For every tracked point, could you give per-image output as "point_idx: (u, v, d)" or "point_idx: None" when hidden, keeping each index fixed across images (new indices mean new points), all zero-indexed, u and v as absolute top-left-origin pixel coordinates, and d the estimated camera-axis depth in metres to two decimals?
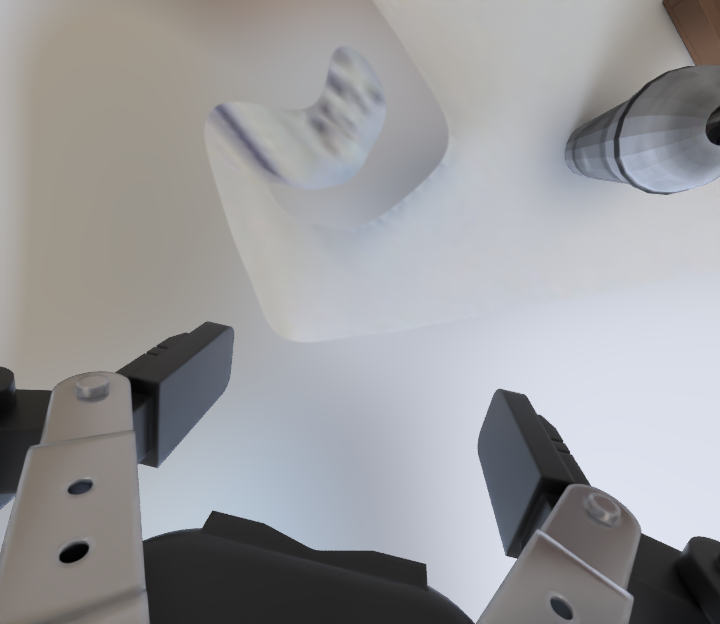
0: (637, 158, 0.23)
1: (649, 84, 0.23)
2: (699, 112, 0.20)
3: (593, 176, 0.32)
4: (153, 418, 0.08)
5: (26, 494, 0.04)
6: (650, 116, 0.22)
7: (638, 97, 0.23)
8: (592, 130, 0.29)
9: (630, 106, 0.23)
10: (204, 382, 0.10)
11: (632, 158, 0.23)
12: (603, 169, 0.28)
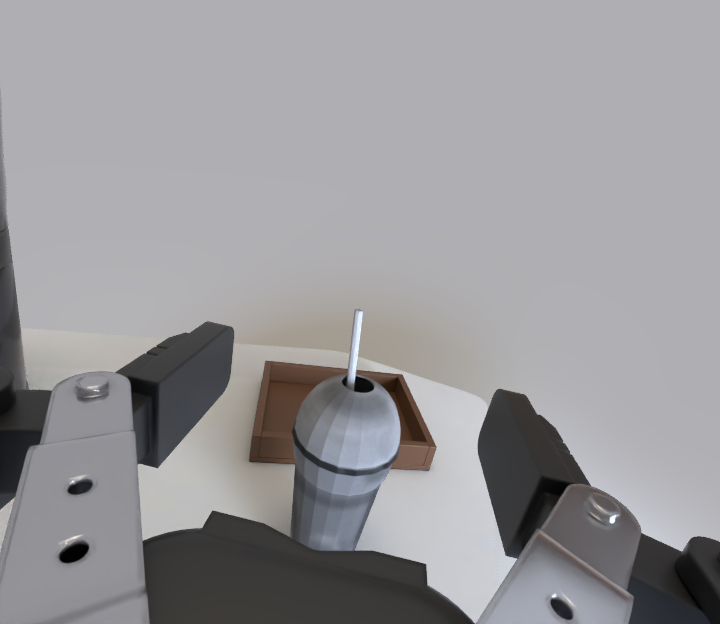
0: (348, 447, 0.22)
1: (293, 428, 0.24)
2: (338, 390, 0.23)
3: (346, 547, 0.26)
4: (153, 418, 0.08)
5: (26, 494, 0.04)
6: (318, 422, 0.23)
7: (297, 436, 0.24)
8: (299, 515, 0.25)
9: (299, 443, 0.23)
10: (204, 382, 0.10)
11: (345, 452, 0.22)
12: (343, 512, 0.24)
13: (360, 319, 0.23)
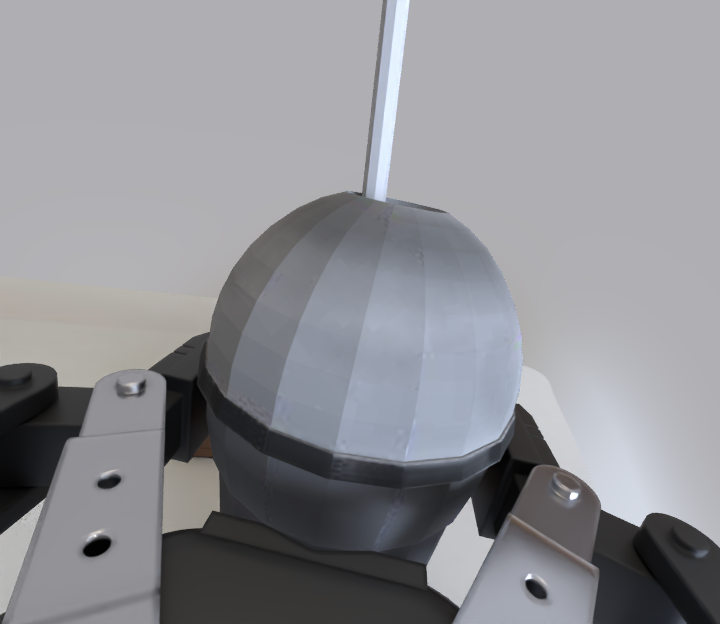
0: (375, 375, 0.06)
1: (204, 345, 0.08)
2: (335, 203, 0.07)
3: None
4: (185, 414, 0.08)
5: (60, 485, 0.05)
6: (265, 297, 0.06)
7: (206, 359, 0.07)
8: None
9: (209, 379, 0.07)
10: None
11: (364, 396, 0.06)
12: None
13: None
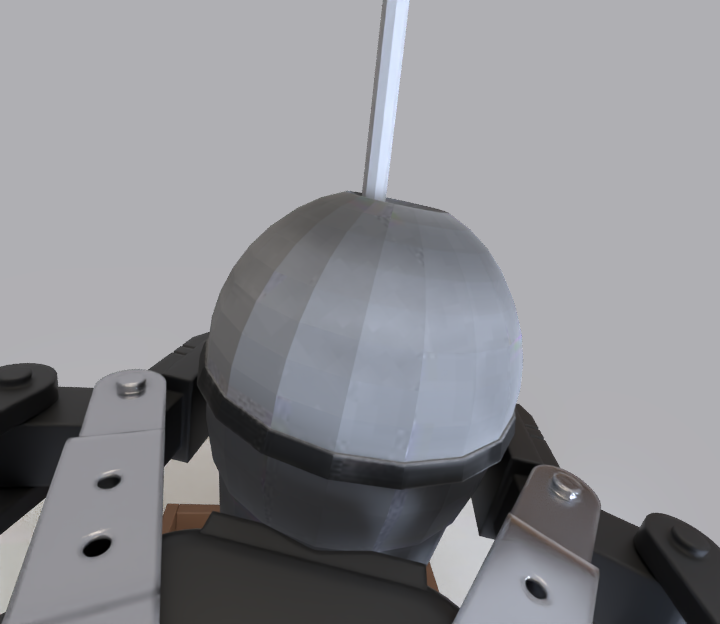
0: (375, 375, 0.06)
1: (204, 345, 0.08)
2: (335, 203, 0.07)
3: None
4: (185, 414, 0.08)
5: (60, 485, 0.05)
6: (265, 297, 0.06)
7: (206, 359, 0.07)
8: None
9: (209, 379, 0.07)
10: None
11: (364, 396, 0.06)
12: None
13: None
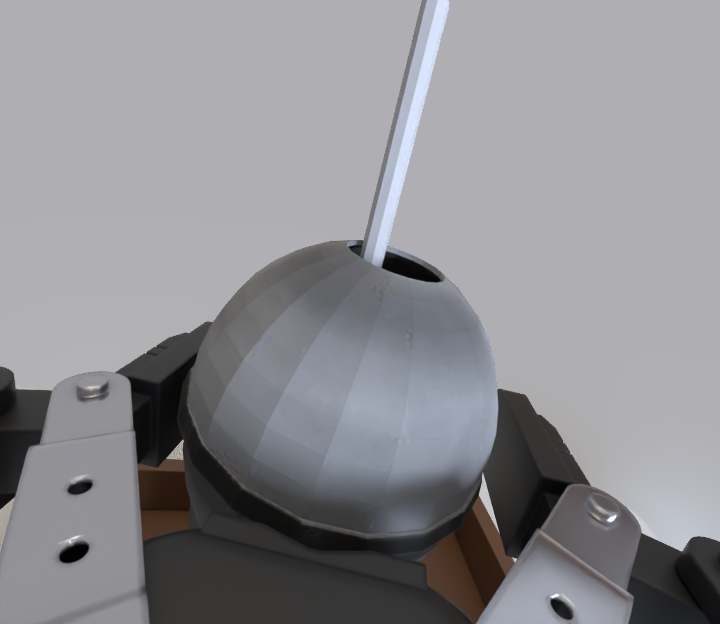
0: (350, 455, 0.06)
1: (188, 374, 0.08)
2: (333, 262, 0.07)
3: None
4: (153, 418, 0.08)
5: (26, 494, 0.04)
6: (252, 356, 0.06)
7: (188, 396, 0.08)
8: None
9: (189, 419, 0.07)
10: None
11: (337, 472, 0.06)
12: None
13: (437, 33, 0.07)
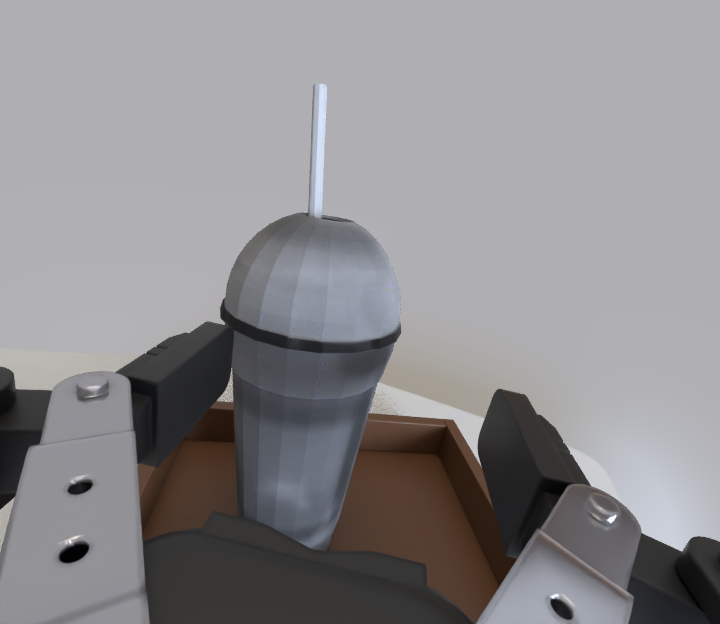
0: (305, 297, 0.12)
1: (223, 301, 0.15)
2: (289, 219, 0.14)
3: (321, 506, 0.16)
4: (153, 418, 0.08)
5: (26, 494, 0.04)
6: (254, 266, 0.13)
7: (225, 305, 0.14)
8: (240, 452, 0.15)
9: (227, 312, 0.13)
10: (204, 382, 0.10)
11: (300, 307, 0.12)
12: (308, 436, 0.14)
13: (323, 100, 0.14)
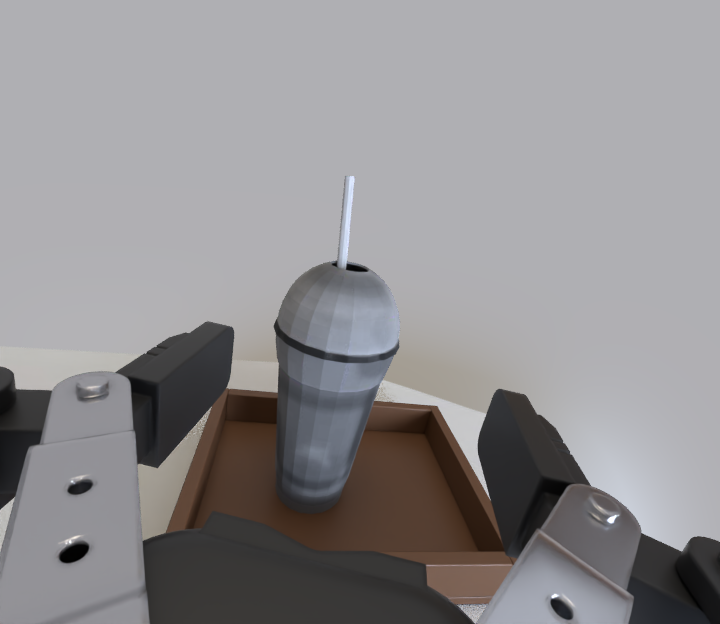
0: (337, 327, 0.18)
1: (276, 321, 0.21)
2: (326, 269, 0.20)
3: (338, 465, 0.23)
4: (153, 418, 0.08)
5: (26, 494, 0.04)
6: (303, 303, 0.19)
7: (279, 325, 0.20)
8: (283, 426, 0.22)
9: (282, 332, 0.20)
10: (204, 382, 0.10)
11: (334, 333, 0.18)
12: (333, 416, 0.21)
13: (351, 187, 0.20)
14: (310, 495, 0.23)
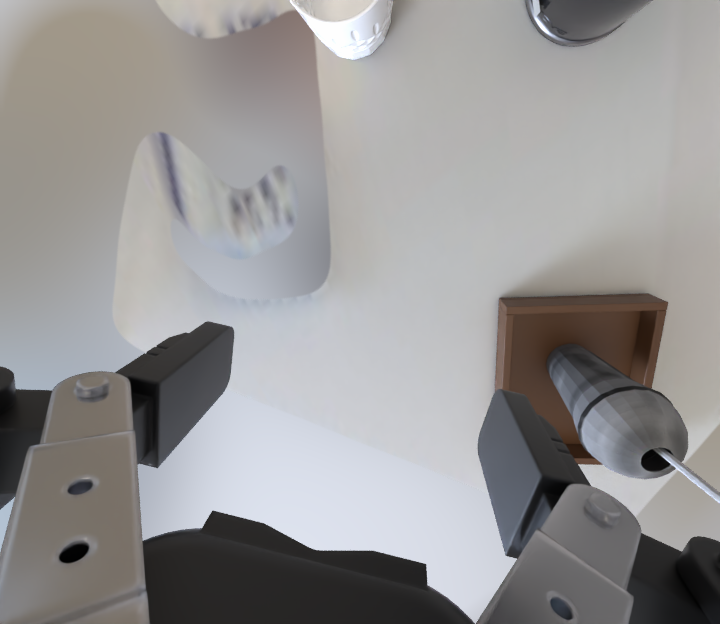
0: (594, 432, 0.29)
1: (633, 388, 0.29)
2: (647, 442, 0.27)
3: None
4: (153, 418, 0.08)
5: (26, 494, 0.04)
6: (620, 416, 0.28)
7: (621, 392, 0.29)
8: (579, 367, 0.35)
9: (613, 393, 0.29)
10: (204, 382, 0.10)
11: (591, 428, 0.29)
12: (568, 402, 0.34)
13: None
14: (550, 368, 0.40)
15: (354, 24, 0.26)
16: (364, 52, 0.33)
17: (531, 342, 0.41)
